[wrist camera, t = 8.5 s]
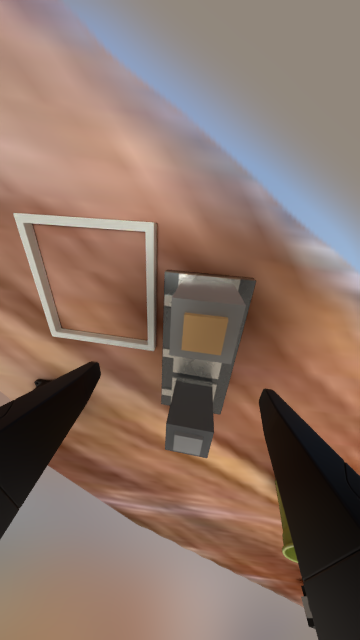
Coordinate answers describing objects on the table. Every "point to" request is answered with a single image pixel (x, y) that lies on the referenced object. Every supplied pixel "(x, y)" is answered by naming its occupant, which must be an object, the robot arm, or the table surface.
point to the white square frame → (44, 289)
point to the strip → (194, 368)
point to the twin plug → (190, 420)
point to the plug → (205, 320)
